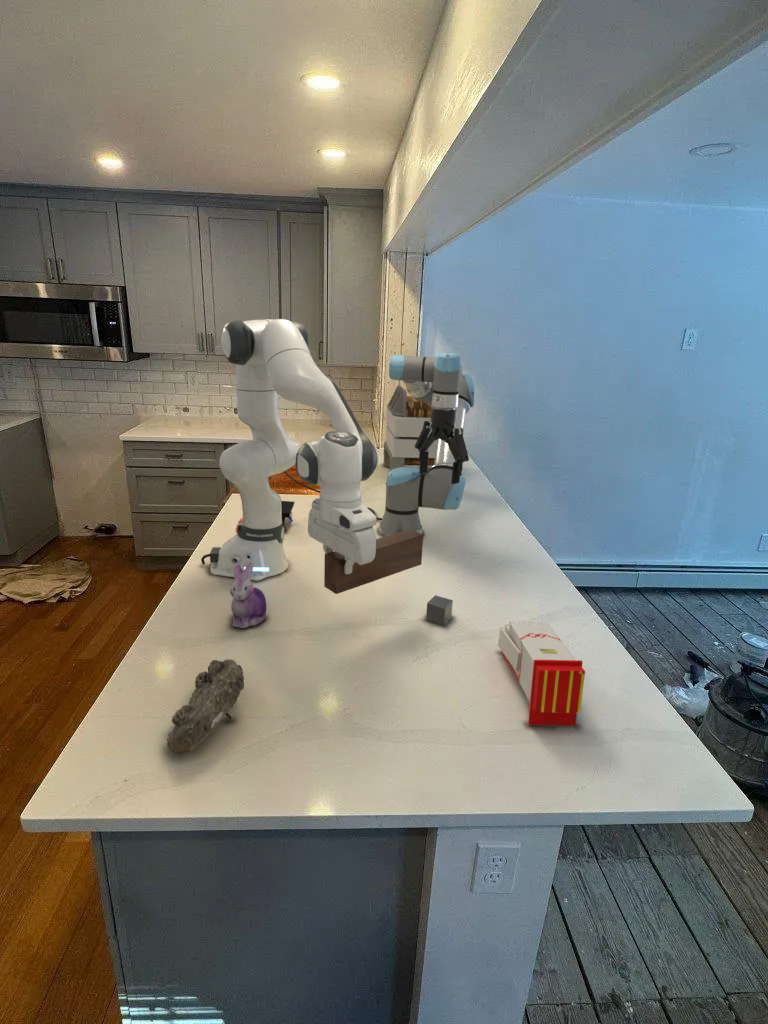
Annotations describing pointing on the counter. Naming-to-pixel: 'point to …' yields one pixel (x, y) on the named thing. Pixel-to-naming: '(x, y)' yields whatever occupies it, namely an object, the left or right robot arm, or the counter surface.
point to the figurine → (246, 599)
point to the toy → (544, 672)
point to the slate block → (439, 610)
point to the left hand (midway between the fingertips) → (339, 568)
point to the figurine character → (287, 513)
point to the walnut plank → (375, 562)
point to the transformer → (406, 430)
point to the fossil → (206, 705)
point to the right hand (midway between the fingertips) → (438, 477)
